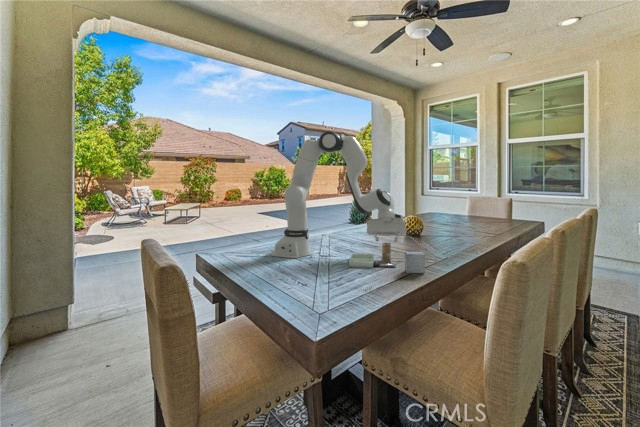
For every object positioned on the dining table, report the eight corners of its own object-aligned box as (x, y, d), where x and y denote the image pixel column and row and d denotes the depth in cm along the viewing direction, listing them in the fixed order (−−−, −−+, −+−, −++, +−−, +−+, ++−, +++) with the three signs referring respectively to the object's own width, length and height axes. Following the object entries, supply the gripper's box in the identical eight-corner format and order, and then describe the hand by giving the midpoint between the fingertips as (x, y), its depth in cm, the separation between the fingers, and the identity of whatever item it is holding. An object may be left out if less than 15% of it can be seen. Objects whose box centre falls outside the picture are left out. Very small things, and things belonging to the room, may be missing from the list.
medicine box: (422, 270, 138) (422, 251, 137) (424, 273, 134) (425, 254, 133) (404, 270, 139) (404, 251, 138) (406, 273, 135) (406, 254, 133)
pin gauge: (373, 266, 145) (373, 262, 144) (373, 265, 147) (373, 261, 146) (395, 267, 143) (395, 263, 142) (395, 266, 145) (395, 261, 144)
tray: (349, 267, 145) (349, 261, 145) (351, 258, 160) (351, 253, 160) (372, 267, 143) (372, 262, 143) (373, 258, 158) (373, 254, 158)
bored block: (382, 262, 152) (382, 244, 150) (382, 260, 156) (382, 242, 154) (390, 262, 151) (390, 244, 150) (390, 260, 155) (390, 242, 154)
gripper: (366, 215, 164) (365, 237, 156) (405, 215, 160) (407, 237, 152) (366, 222, 169) (366, 243, 161) (405, 222, 165) (406, 244, 157)
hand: (386, 240), depth 156 cm, fingers open, 8 cm apart
